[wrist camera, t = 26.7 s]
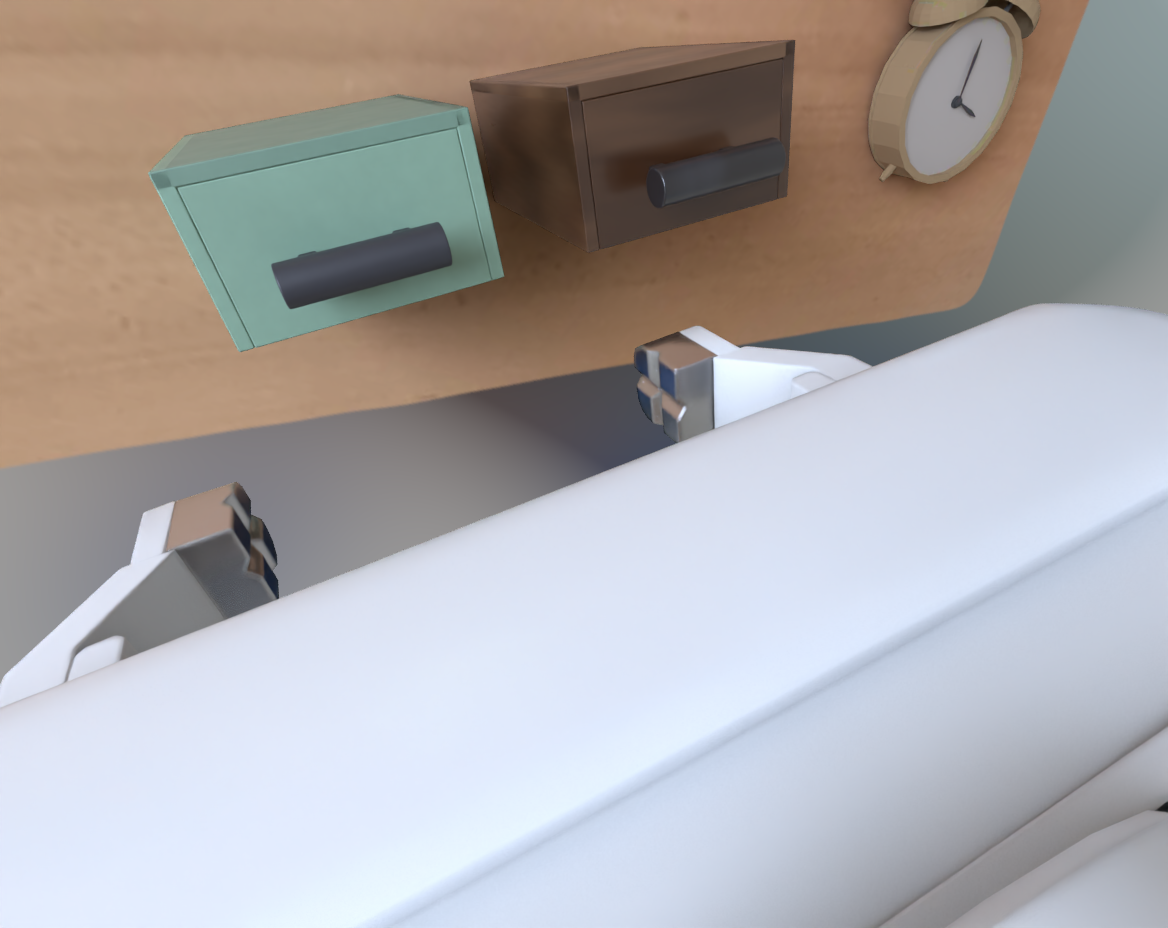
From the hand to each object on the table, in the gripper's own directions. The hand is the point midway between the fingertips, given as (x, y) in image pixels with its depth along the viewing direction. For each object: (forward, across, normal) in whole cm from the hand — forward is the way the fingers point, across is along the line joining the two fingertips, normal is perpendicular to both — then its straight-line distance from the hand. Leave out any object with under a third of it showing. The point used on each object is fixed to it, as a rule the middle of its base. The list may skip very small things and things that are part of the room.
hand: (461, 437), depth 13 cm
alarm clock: (+29, -45, +1) cm, 54 cm away
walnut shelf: (+21, -15, -4) cm, 26 cm away
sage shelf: (+21, 0, -4) cm, 21 cm away
